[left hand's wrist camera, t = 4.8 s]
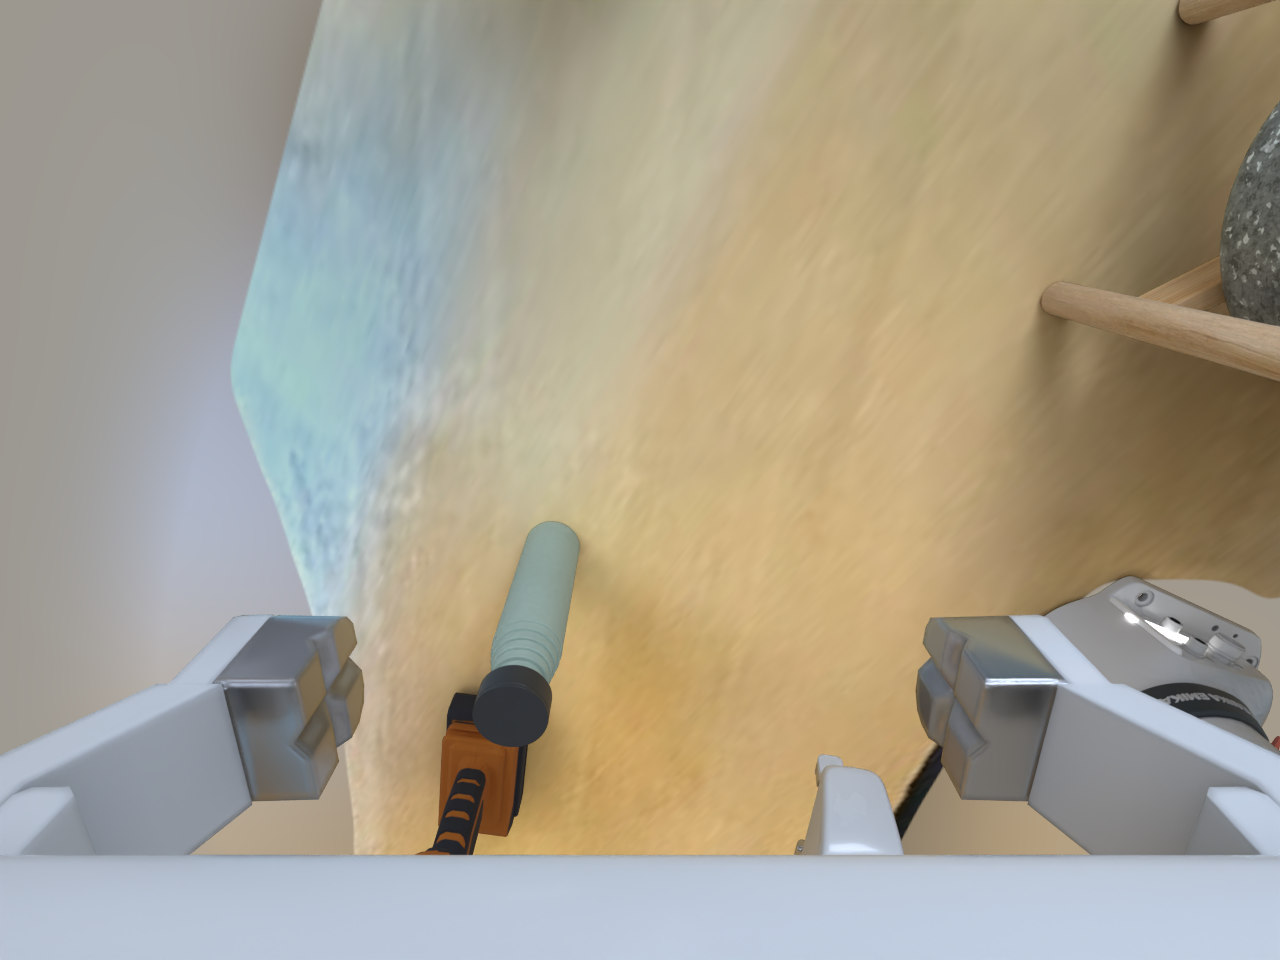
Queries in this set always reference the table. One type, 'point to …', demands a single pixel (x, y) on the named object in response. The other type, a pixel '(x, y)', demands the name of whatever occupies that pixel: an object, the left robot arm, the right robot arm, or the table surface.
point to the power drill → (475, 783)
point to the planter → (1210, 266)
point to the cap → (512, 706)
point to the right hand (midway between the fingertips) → (816, 805)
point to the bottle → (538, 601)
